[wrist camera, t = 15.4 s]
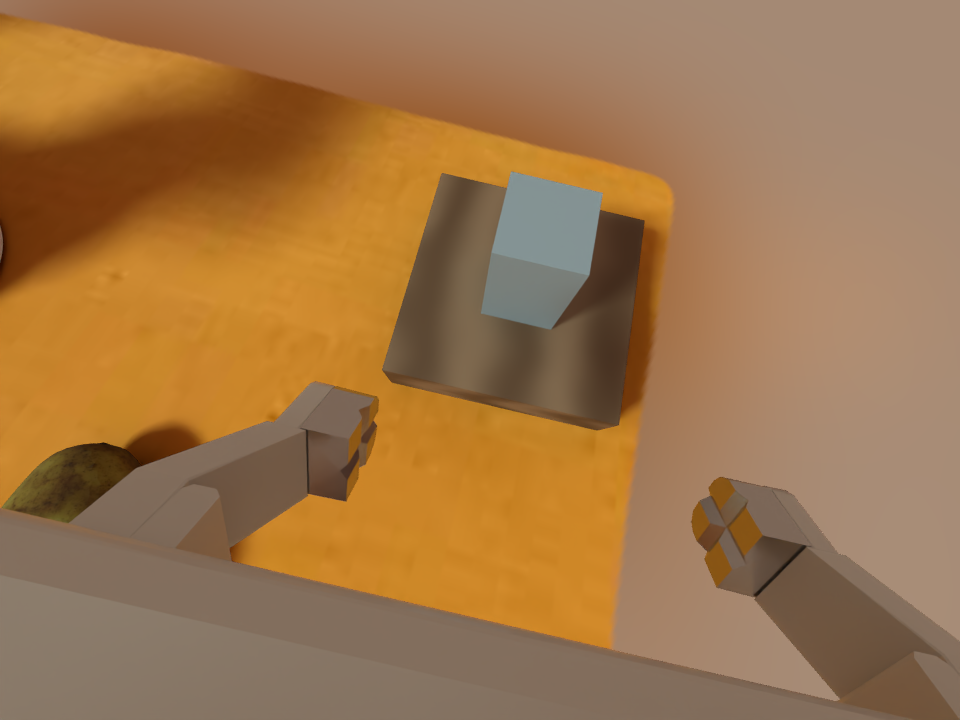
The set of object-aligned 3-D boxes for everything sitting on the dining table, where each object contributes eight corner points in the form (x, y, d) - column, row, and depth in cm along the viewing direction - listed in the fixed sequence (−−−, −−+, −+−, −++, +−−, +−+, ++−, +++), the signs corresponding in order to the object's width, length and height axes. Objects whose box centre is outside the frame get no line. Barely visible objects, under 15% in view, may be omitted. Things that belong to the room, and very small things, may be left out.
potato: (219, 467, 27) (126, 467, 19) (130, 679, 24) (-26, 782, 16) (104, 436, 27) (-34, 425, 19) (-1, 644, 24) (-221, 731, 16)
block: (480, 313, 27) (491, 252, 19) (495, 251, 28) (511, 171, 21) (550, 329, 27) (589, 275, 19) (562, 266, 28) (602, 193, 21)
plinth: (391, 382, 29) (382, 369, 26) (443, 206, 34) (441, 173, 30) (597, 430, 29) (618, 425, 26) (622, 248, 34) (644, 220, 30)
